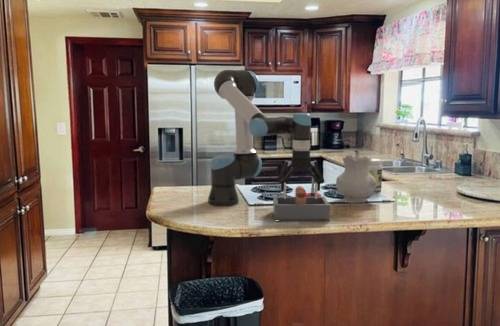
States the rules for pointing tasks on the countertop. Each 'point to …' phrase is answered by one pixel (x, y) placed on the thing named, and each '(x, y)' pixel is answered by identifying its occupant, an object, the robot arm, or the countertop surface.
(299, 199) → the wooden peg
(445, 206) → the countertop surface
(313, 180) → the tow hook
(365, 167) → the ceramic pitcher
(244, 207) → the countertop surface
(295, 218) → the open box
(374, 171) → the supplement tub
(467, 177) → the countertop surface
